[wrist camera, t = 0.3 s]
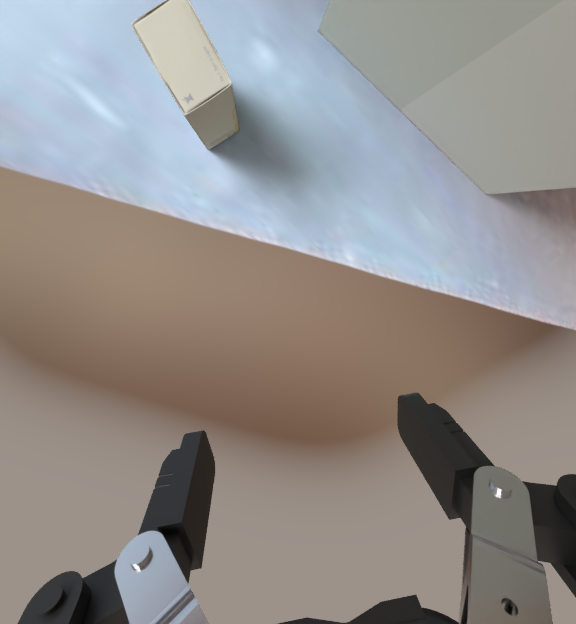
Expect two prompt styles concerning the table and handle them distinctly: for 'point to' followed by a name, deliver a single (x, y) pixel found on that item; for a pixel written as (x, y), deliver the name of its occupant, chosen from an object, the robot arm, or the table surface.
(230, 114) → the skincare box
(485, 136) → the stepped stand
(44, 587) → the robot arm
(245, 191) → the table surface
